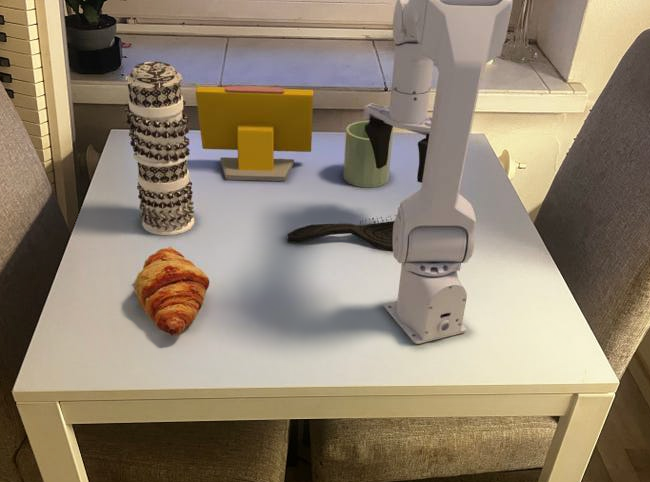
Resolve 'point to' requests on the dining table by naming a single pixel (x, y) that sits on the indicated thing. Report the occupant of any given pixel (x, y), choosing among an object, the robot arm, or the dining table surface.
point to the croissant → (171, 290)
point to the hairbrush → (349, 232)
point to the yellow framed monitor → (255, 128)
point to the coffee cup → (363, 158)
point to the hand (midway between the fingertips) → (401, 173)
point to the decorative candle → (160, 147)
